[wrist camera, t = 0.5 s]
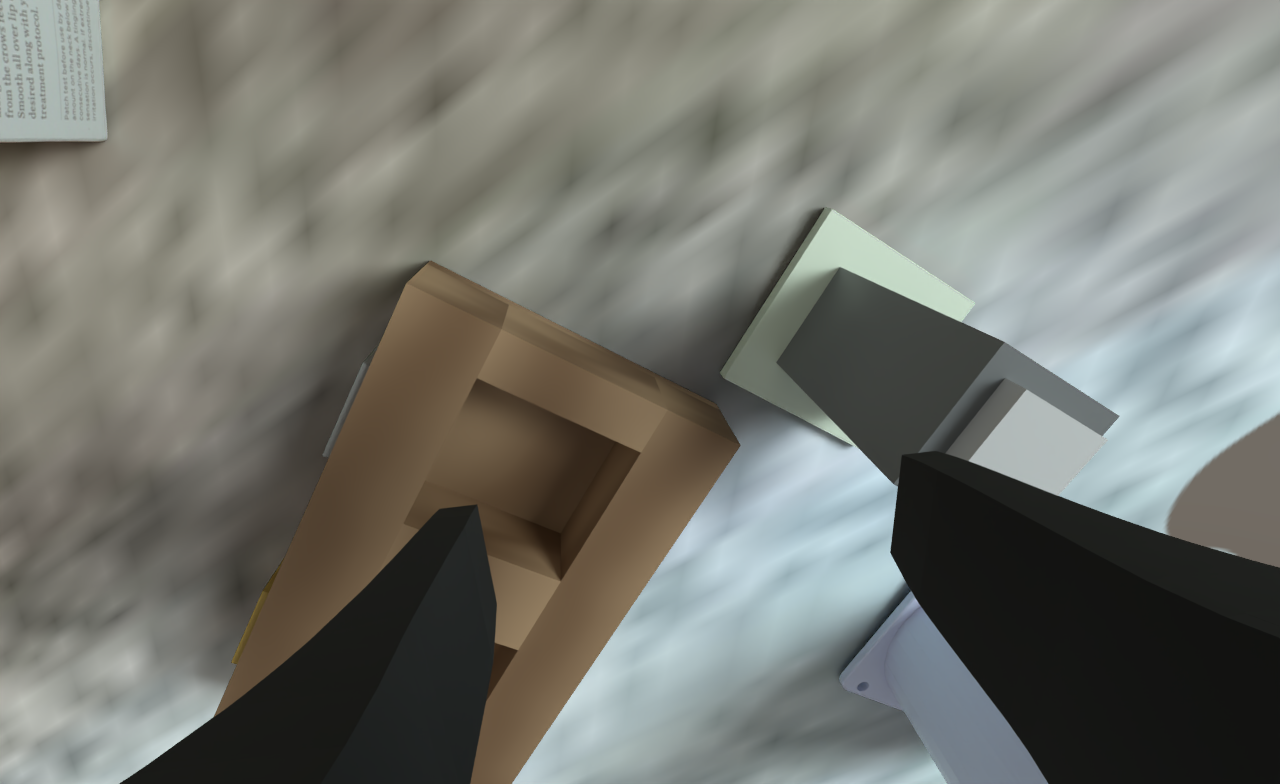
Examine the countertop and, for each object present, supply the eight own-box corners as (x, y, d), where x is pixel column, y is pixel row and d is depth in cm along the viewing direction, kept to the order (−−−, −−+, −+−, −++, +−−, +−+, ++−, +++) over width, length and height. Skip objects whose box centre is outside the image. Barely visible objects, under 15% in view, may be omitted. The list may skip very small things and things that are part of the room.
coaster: (966, 299, 20) (975, 303, 20) (857, 444, 22) (864, 451, 21) (825, 207, 18) (832, 209, 18) (719, 372, 20) (723, 378, 20)
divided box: (716, 403, 20) (740, 445, 18) (509, 723, 25) (502, 796, 22) (423, 257, 17) (398, 279, 15) (248, 649, 22) (203, 723, 19)
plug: (922, 318, 20) (1144, 428, 12) (858, 407, 21) (1027, 559, 13) (839, 266, 19) (1026, 352, 11) (776, 362, 20) (908, 499, 12)
